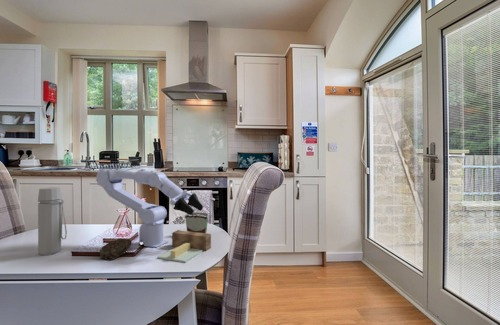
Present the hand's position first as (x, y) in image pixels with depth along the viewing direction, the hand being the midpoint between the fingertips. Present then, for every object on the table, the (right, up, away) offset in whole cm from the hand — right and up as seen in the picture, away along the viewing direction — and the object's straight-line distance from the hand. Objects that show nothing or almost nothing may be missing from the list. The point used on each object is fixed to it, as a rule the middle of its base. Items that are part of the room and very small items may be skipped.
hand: (197, 210), depth 107 cm
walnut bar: (-3, -16, +2) cm, 16 cm away
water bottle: (-55, -16, -5) cm, 58 cm away
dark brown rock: (-30, -16, -6) cm, 35 cm away
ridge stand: (-5, -16, -7) cm, 18 cm away
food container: (-4, -16, +22) cm, 27 cm away
